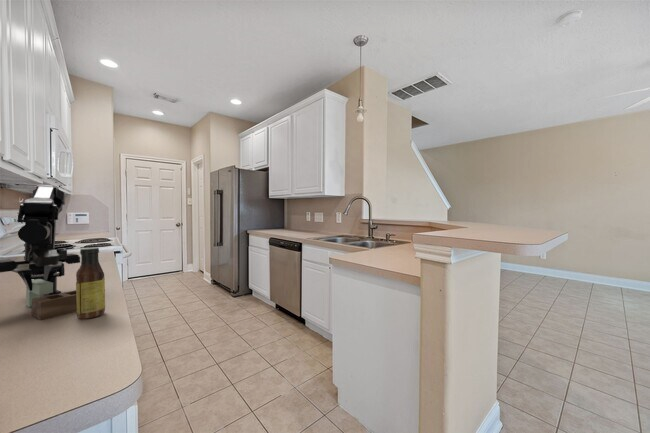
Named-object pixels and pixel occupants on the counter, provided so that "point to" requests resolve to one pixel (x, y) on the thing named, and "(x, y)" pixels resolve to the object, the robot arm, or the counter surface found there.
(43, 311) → the brown cubby organizer
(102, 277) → the sauce bottle
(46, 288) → the green block
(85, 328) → the counter surface
